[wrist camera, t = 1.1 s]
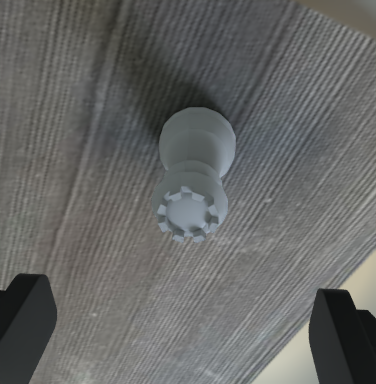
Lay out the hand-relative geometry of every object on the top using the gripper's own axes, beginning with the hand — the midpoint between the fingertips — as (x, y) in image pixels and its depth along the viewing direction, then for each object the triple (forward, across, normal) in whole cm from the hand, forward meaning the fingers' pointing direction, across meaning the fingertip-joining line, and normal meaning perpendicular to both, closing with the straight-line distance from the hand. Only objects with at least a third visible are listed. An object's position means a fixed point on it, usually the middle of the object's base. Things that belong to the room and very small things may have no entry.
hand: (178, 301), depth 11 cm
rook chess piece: (+12, 0, 0) cm, 12 cm away
